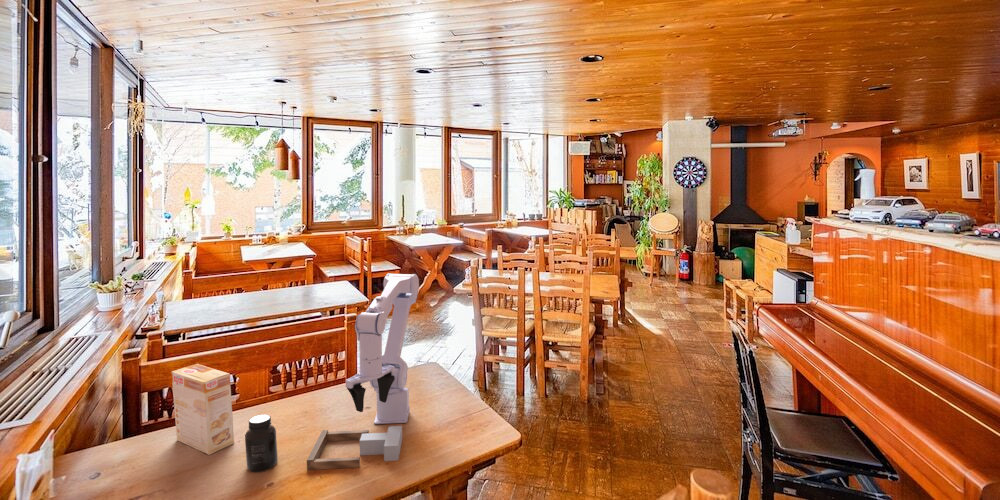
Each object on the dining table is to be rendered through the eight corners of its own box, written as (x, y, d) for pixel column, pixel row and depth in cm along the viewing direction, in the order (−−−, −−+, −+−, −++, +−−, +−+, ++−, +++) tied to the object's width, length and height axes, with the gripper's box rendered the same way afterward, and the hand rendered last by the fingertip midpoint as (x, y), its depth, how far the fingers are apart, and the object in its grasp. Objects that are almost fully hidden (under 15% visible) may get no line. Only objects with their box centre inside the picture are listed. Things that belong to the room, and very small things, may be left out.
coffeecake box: (235, 443, 127) (231, 373, 124) (208, 456, 121) (203, 382, 118) (202, 429, 134) (197, 362, 131) (175, 440, 128) (169, 371, 125)
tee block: (402, 439, 129) (402, 425, 129) (398, 460, 120) (398, 445, 119) (364, 441, 128) (364, 427, 128) (357, 462, 119) (357, 447, 118)
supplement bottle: (284, 460, 119) (281, 414, 118) (262, 475, 113) (259, 427, 111) (262, 454, 121) (260, 410, 120) (240, 469, 115) (237, 422, 114)
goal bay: (368, 436, 131) (368, 428, 130) (359, 467, 116) (358, 457, 116) (322, 438, 129) (322, 430, 129) (307, 469, 115) (306, 460, 115)
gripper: (383, 347, 135) (383, 393, 136) (338, 360, 123) (339, 410, 125) (399, 352, 130) (400, 400, 132) (354, 366, 119) (355, 418, 120)
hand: (371, 406), depth 128 cm, fingers open, 7 cm apart
